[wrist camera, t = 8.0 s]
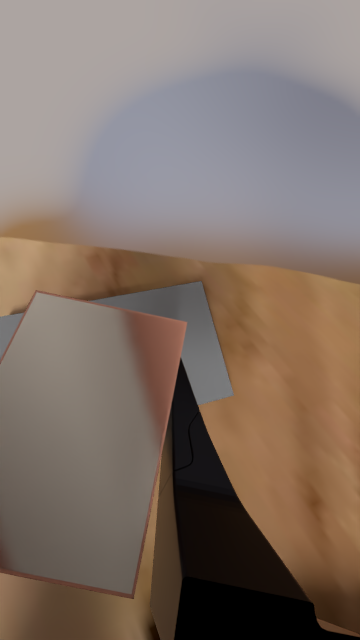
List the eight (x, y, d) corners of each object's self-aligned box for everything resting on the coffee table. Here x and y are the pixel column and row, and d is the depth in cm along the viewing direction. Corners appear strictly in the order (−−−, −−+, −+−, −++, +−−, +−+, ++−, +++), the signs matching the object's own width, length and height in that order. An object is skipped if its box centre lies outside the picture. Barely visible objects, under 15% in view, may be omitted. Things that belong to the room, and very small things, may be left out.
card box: (165, 396, 14) (133, 599, 2) (125, 388, 14) (-99, 553, 2) (175, 346, 15) (187, 322, 4) (139, 339, 15) (35, 290, 4)
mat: (0, 455, 14) (-14, 463, 13) (7, 319, 17) (-3, 317, 16) (230, 392, 16) (233, 395, 15) (199, 284, 19) (201, 281, 18)
